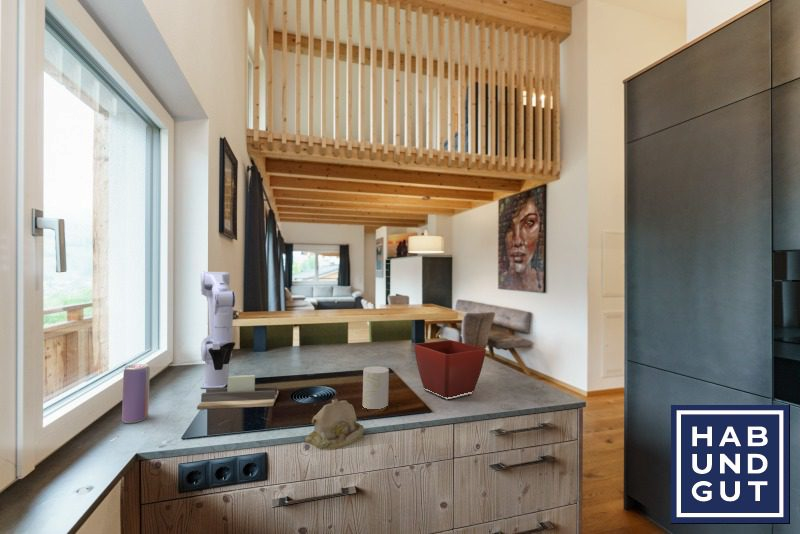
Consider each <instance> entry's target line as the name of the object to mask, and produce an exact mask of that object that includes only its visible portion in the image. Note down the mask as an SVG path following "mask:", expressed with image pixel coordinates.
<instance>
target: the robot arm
mask: <svg viewBox="0 0 800 534" xmlns="http://www.w3.org/2000/svg"><path fill="white" fill-rule="evenodd" d="M200 292H201V295H203V296H205V297H206V301H207V307H208V328H209V330H208V332H209V335H206V337H205V338H203V340H202V341H201V348H200V358H201V361H203V362H204V363H205V364H204V383H203V384H202V385H200V388H199V389H211V388H226V386H228V377H229V376H230V374H229V371H230V364H229V363H230V361H231V358H232V356H233V350H234V348H235V346H236V342H235V341H234V342H233V322H234V320H233V319H234V316H233V315H234V308H235V305H236V292H235V290H231V289H230V272H228V271H204V270H203V271H202V272H201V273H200Z"/></svg>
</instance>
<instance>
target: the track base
mask: <svg viewBox="0 0 800 534" xmlns="http://www.w3.org/2000/svg"><path fill="white" fill-rule="evenodd" d="M200 395H201V396H200V397H201V399H200V403H199V404H197V406H196V408H197V410H208V409H209V410H211V409H212V410H213V409H214V410H215V409H232V408H233V409H235V408H237V409H238V408H254V407H255V408H258V407H273V406H274V404H275V402H276V400H277V397H278V396H279V390H278V386H255V391H241V392H227V387H223V388H205V392H202V393H201V394H200Z"/></svg>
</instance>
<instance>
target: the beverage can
mask: <svg viewBox="0 0 800 534" xmlns="http://www.w3.org/2000/svg"><path fill="white" fill-rule="evenodd" d="M150 371H151V368H150V364H148V363H134V364H130V365H127V366H124V369H123V378H122V379H123V380H122V384H123V385H122V404H121V406H122V408H121V409H122V411H121V421H122V422H123V423H124V424H135V423H140V422H143V421H145V420H146V419H147V418H148V416H149V406H150V405H149V400H150V377H151V373H150Z"/></svg>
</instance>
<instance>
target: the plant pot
mask: <svg viewBox="0 0 800 534" xmlns="http://www.w3.org/2000/svg"><path fill="white" fill-rule="evenodd" d="M413 347H414V354H415V360H416V366H417V369H418V374H419V378H420V381H421V383H422V386H423V387H422V388H423V389H424V388H425V389H428V390H430V391H432V392H434V393H437V394H439V395H441V396H443V397H447V398H448V397H453V396H457V395H460V394H464V393H468V392H472V391H473V392H474V391H475V388H476V386H477V383H478V381H479V378H480V375H481V372H482V369H483V365H484V361H485V356H486V351H487V350H486V348H484V347H479V346H476V345H472V344H468V343H464V342H460V341H458V340H457V341H456V340H453V339H451V340H450V339H449V340H448V339H447V340H440V341H429V342H428V341H427V342H419V343H414V345H413ZM425 389H424V390H425Z"/></svg>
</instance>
